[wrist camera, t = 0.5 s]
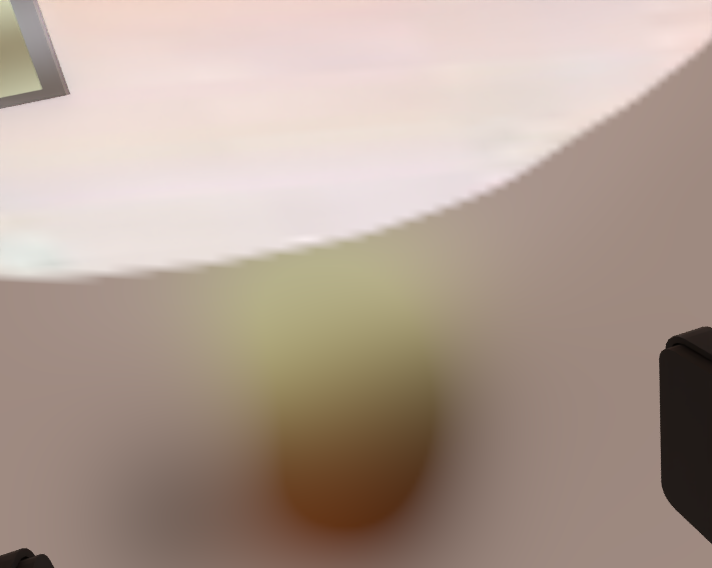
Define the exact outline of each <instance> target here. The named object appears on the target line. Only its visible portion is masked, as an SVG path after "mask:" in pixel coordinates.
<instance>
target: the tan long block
mask: <svg viewBox="0 0 712 568" xmlns="http://www.w3.org/2000/svg"><path fill="white" fill-rule="evenodd" d="M69 94H70V93H69V90H68V87H67V84H66V81H65V78H64V76H63V73H62V70H61V67H60V64H59V61H58V59H57V56H56V53H55V50H54V47H53V44H52V42H51V39H50V36H49V33H48V30H47V27H46V25H45V22H44V19H43V16H42V13H41V11H40V8H39V5H38V2H37V0H0V109H1V108H6V107H11V106H16V105H21V104H25V103H30V102H35V101H40V100H45V99H50V98H55V97H60V96H65V95H69Z"/></svg>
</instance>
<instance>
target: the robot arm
mask: <svg viewBox="0 0 712 568" xmlns="http://www.w3.org/2000/svg"><path fill="white" fill-rule="evenodd" d="M659 369H660V371H659V374H660V432H661V483H662V488H663V491H664V494H665V496H666V498H667V499H668V501H669V502H670V504H671V505H672V506H673V507H674V508H675V509H676V510H677V511H678V512H679V513H680V514H681V515H682V516H683V517H684V518H685V519H686V520H687V521H688V522H689V523H690V524H691V525H693V526H694V527H695V528H696V529H697V530H698V531H699V532H700V533H701V534H702V535H703V536H704V537H705V538H706V539H707V540H708V541H709V542H710V543H712V328H711V327H701V328H698V329H695V330H692V331H689V332H686V333H682V334H679V335H676V336H673V337H672V338H670V339H669V340H668V342H667V343H666V349H664V350H663V351H662V352H661V353H660V358H659ZM0 568H54V567H53V565H52V563H51V561H50V560H49V558H48V557H47V556H46V555H44V554H40V555H37V556H35V555H34V554H33V552H32V551H30V550H29V549H27V548H22V549H19V550H16V551H13V552H10V553H7V554H4V555H1V556H0Z"/></svg>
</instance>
